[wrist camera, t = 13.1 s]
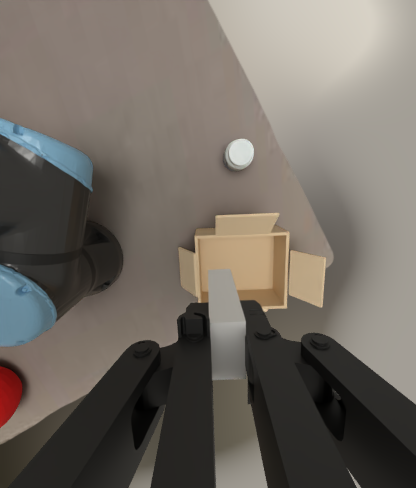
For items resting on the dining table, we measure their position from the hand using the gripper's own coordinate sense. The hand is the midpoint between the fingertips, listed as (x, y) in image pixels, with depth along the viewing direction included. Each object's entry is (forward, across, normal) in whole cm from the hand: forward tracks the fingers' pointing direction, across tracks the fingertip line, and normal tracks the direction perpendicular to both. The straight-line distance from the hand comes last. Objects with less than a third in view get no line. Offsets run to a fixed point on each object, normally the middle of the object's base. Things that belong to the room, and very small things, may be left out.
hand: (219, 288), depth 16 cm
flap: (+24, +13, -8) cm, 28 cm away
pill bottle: (+33, +5, +12) cm, 35 cm away
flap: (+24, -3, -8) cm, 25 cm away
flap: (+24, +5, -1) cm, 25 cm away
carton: (+32, +5, -8) cm, 34 cm away
